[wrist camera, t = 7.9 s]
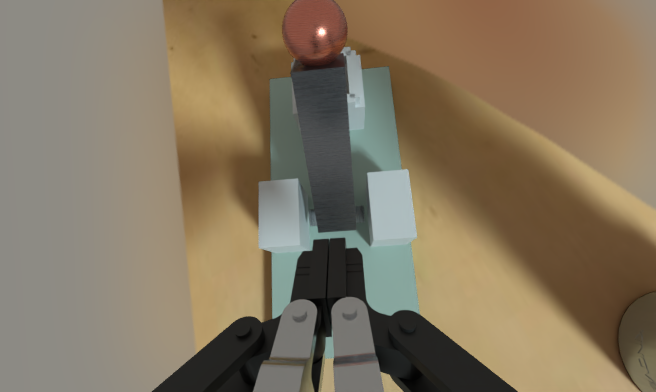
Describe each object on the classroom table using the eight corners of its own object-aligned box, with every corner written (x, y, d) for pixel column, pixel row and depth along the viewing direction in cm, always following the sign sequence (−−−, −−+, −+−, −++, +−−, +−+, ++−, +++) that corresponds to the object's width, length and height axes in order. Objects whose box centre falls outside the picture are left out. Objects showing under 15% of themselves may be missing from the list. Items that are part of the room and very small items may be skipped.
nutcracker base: (386, 78, 33) (394, 27, 26) (419, 348, 26) (441, 373, 19) (274, 90, 34) (253, 43, 27) (278, 354, 27) (252, 380, 20)
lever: (362, 206, 27) (351, -15, 18) (366, 235, 24) (354, -9, 15) (312, 210, 28) (273, -5, 18) (310, 239, 25) (262, 3, 15)
